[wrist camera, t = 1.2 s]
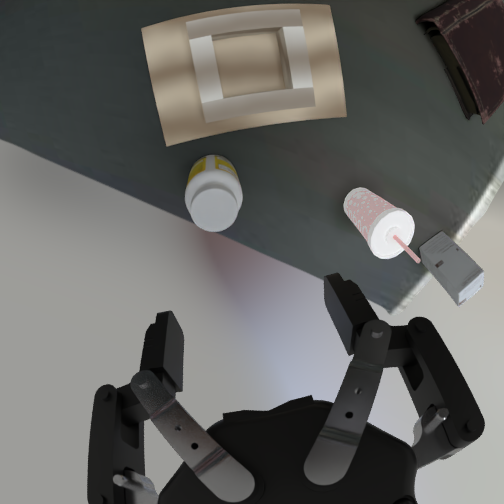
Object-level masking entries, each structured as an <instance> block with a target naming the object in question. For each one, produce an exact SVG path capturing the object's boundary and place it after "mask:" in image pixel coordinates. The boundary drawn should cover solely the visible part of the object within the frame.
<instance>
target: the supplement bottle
mask: <svg viewBox="0 0 504 504" xmlns="http://www.w3.org/2000/svg"><path fill="white" fill-rule="evenodd" d="M242 199H243V195H242V189H241V185H240V182H239V179H238V176H237V173H236V170H235V168H234V166H233V164H232V163H231V162H230V161H229V160H228V159H226V158H225V157H223V156H219V155H207V156H204V157H202V158H200V159H199V160H198V161H196V162H195V164H194V165H193V166H192V168H191V171H190V174H189V178H188V183H187V187H186V191H185V203H186V206H187V209H188V211H189V212H190V214H191V217H192V219H193V221H194V223H195V224H196V225H197V226H198V227H200V228H201V229H203V230H206V231H210V232H218V231H222V230H225V229H226V228H228V227H229V226H231V225H232V224H233V222H234V221H235V219H236V217H237V214H238V211H239V209H240V207H241V204H242Z"/></svg>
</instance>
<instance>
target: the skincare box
mask: <svg viewBox="0 0 504 504" xmlns="http://www.w3.org/2000/svg"><path fill="white" fill-rule="evenodd" d="M419 250H420V255H421V259H422V263H423V264H424V265H425V267H426V268H427V269H428V270H429V271H430V272H431V273H432V275H433V276H434V277H435V278H436V279H437V281H438V282H439V283H440V284H441V285H442V287H443V288H444V289H445V290H446V291H447V293H448V294H449V295H450V296H451V298H452V299H453V300H454V301H455V303H456V304H457V306H460V305H462V304H463V303H464V302H465V301H467V300H468V299H470V298H471V297H472V296H473V295H474V294H475V293H476V292H477V291H478V290H480V289H481V288H482V287H483V281H484V271H483V270H482V269H481V268H480V267H479V266H478V265H477V264H476V262H475V261H474V260H472V258H471V257H470V256H469V255H468V254H466V253H465V252H464V251H463V250H462V249H461V248H460V247H459V246H458V245H457V244H456V243H455V242H454V241H453V240H452V239H451V238H450V237H448V236H447V235H446V234H445V233H444V232H443V231H441V232H439V233H438V234H437V235H435V236H434V237H432V238H431V239H430V240H428V241H427V242H426V243H424V244H423V245H422V246H421V247H420V248H419Z"/></svg>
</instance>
